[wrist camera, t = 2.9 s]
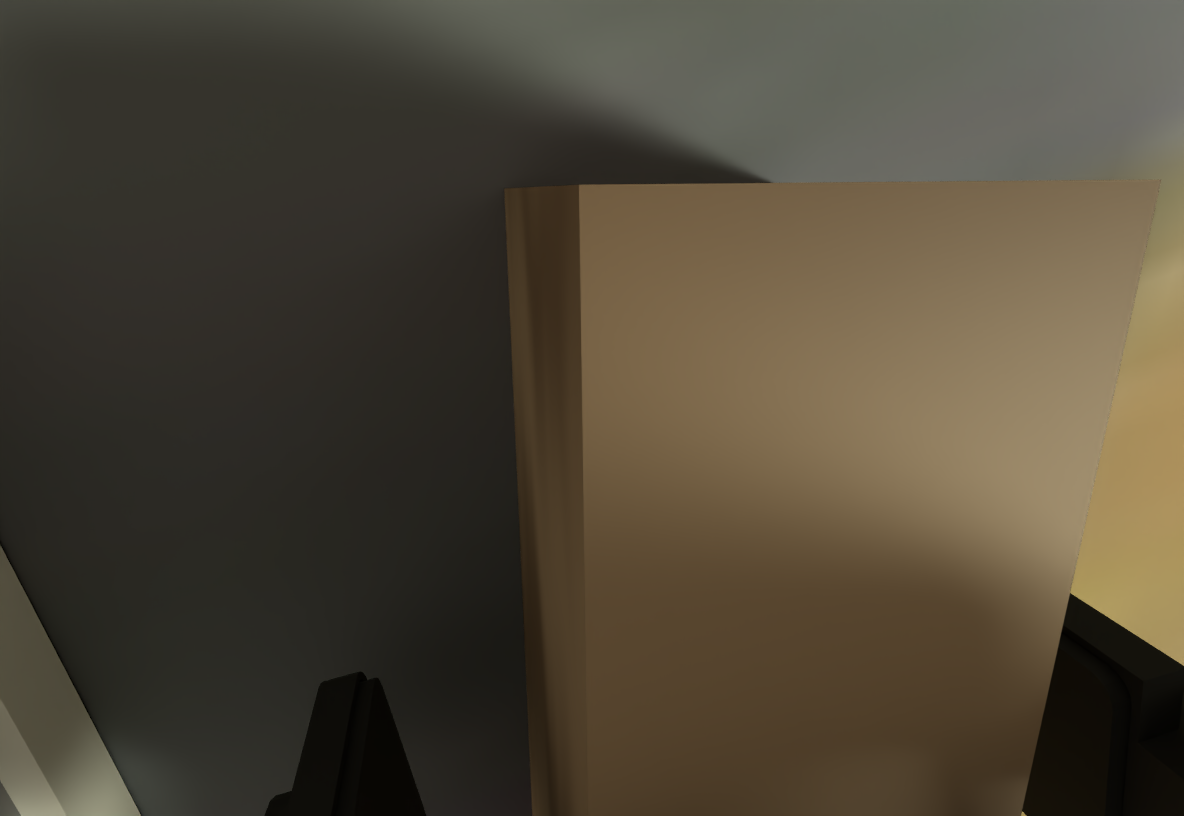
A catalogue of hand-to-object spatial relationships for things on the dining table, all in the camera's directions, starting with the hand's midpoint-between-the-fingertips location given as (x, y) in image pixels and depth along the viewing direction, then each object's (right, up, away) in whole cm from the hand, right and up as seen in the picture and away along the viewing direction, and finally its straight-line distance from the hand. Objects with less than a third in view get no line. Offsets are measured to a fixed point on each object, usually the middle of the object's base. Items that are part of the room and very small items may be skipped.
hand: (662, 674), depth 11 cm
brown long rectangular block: (0, +1, +1) cm, 1 cm away
